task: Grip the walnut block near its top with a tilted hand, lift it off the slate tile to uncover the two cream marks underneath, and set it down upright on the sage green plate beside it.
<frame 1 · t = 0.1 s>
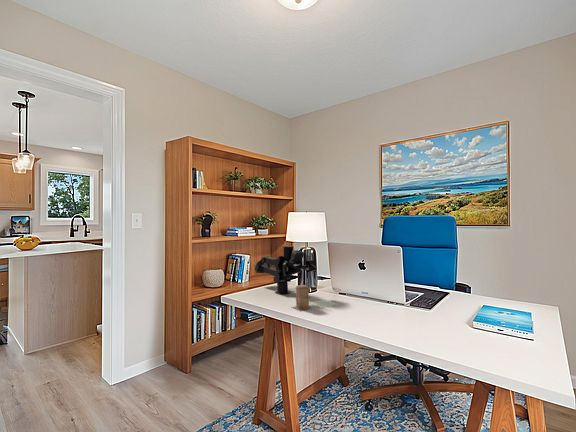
hand: (308, 269, 155), 16 cm above the table, tool horizontal, fingers open, 9 cm apart
walnut block: (302, 307, 145), resting on slate tile
slate tile: (302, 308, 145), on the table
sage plate: (322, 304, 151), on the table
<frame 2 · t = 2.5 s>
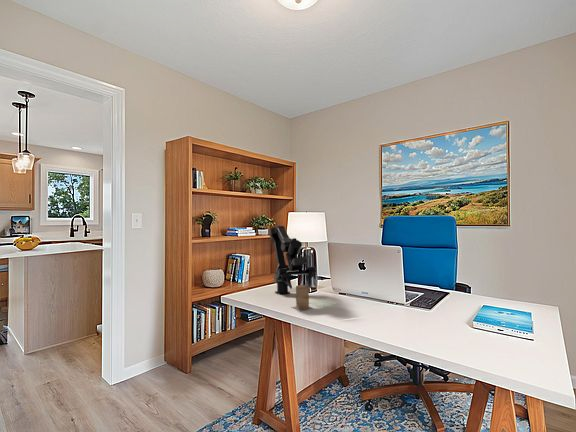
hand: (300, 287, 147), 9 cm above the table, tool tilted 45°, fingers open, 9 cm apart
nothing on the table moved.
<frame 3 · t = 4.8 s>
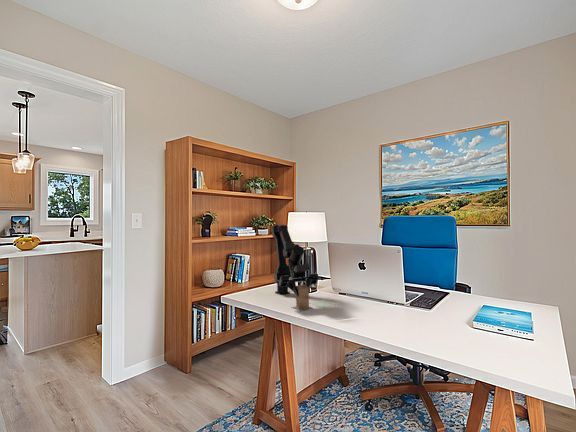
hand: (303, 295, 144), 7 cm above the table, tool tilted 45°, fingers closed on walnut block, 5 cm apart
walnut block: (302, 307, 145), resting on slate tile, touching gripper
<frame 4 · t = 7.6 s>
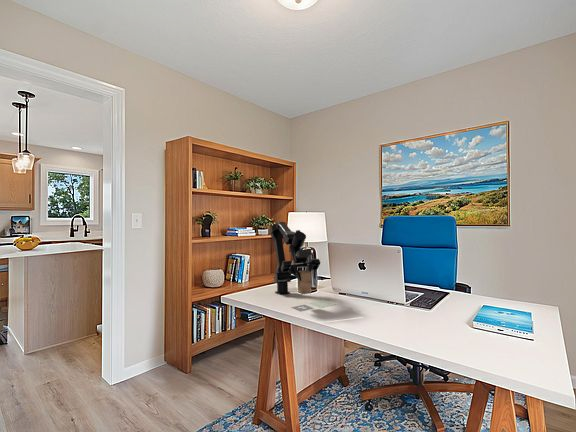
hand: (305, 280, 144), 13 cm above the table, tool tilted 45°, fingers closed on walnut block, 5 cm apart
walnut block: (304, 292, 145), point 7 cm above the table, touching gripper
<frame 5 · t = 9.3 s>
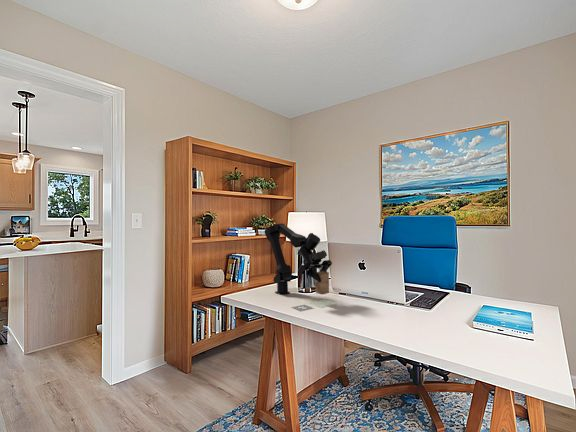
hand: (324, 280, 150), 12 cm above the table, tool tilted 45°, fingers closed on walnut block, 5 cm apart
walnut block: (322, 292, 151), point 6 cm above the table, touching gripper
when the fingers open (8 cm above the table, at t = 10.8 s): walnut block drops 1 cm, resting on sage plate.
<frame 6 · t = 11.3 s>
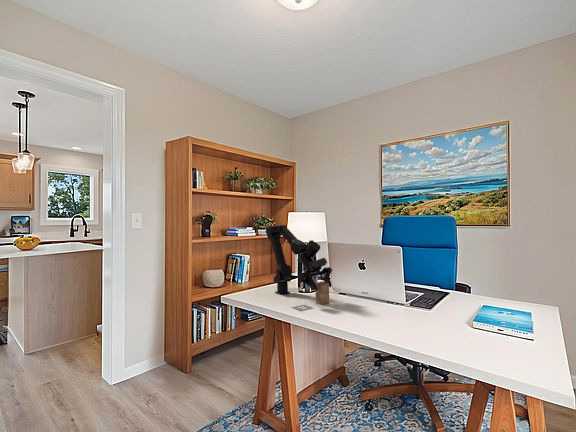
hand: (324, 288, 150), 8 cm above the table, tool tilted 45°, fingers open, 9 cm apart
walnut block: (322, 303, 151), resting on sage plate
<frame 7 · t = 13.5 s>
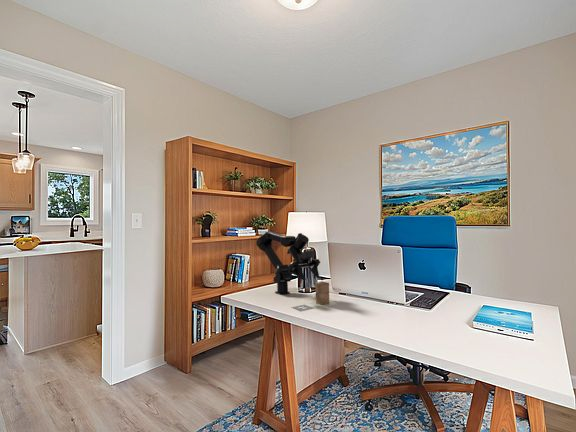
hand: (312, 278, 157), 11 cm above the table, tool tilted 45°, fingers open, 9 cm apart
nothing on the table moved.
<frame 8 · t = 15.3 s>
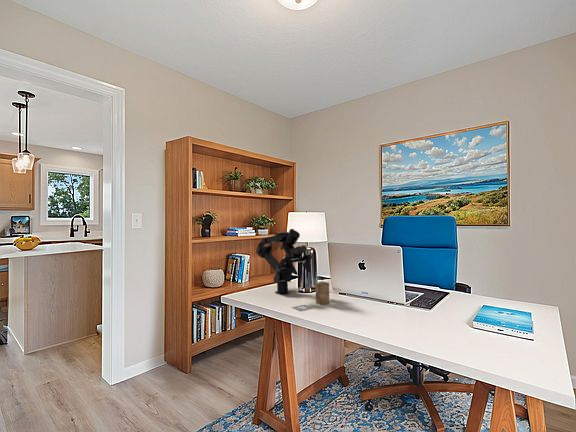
hand: (303, 273, 161), 14 cm above the table, tool tilted 45°, fingers open, 9 cm apart
nothing on the table moved.
at the end: walnut block inside the target area on the sage plate (0.0 cm from its centre), point 0.5 cm above the sage plate's base; walnut block tilted 0°; the gripper is holding nothing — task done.
